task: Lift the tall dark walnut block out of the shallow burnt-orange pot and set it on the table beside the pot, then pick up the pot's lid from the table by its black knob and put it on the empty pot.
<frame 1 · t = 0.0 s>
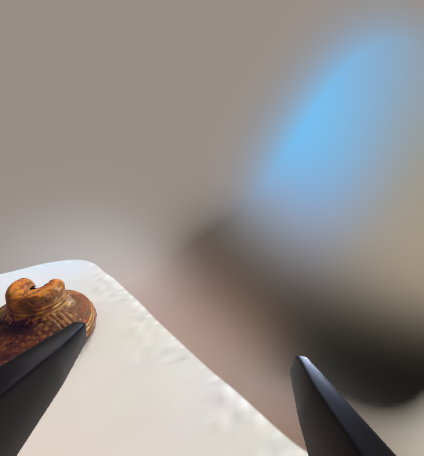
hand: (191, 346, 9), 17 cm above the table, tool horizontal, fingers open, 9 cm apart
bell: (43, 333, 25), on the table
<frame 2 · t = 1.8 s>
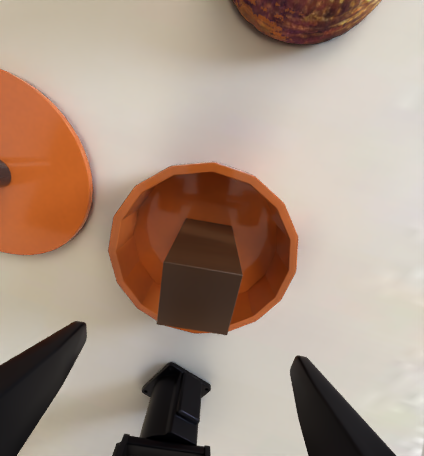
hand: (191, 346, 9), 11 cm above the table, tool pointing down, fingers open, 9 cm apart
pot: (205, 240, 19), on the table
lid: (2, 171, 17), point 1 cm above the table
block: (205, 243, 19), resting on pot
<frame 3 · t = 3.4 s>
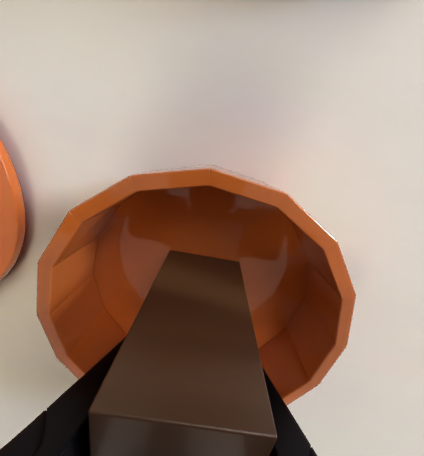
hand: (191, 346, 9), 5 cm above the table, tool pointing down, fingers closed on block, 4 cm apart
pot: (200, 280, 13), on the table
block: (199, 285, 13), resting on pot, touching gripper
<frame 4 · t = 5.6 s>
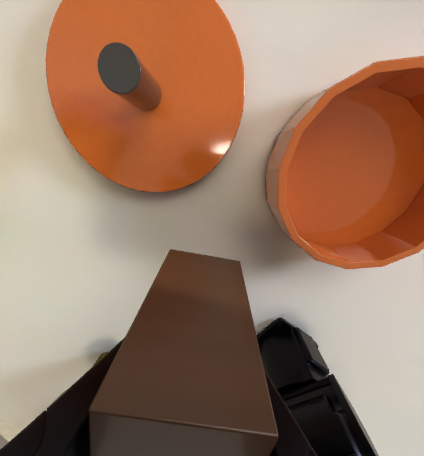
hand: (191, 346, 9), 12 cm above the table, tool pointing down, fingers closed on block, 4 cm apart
pot: (345, 175, 18), on the table
lid: (148, 95, 16), point 1 cm above the table
block: (199, 284, 13), point 8 cm above the table, touching gripper
when the fingers open (4 cm above the table, at t = 8.0 s): block stays where it is, on the table.
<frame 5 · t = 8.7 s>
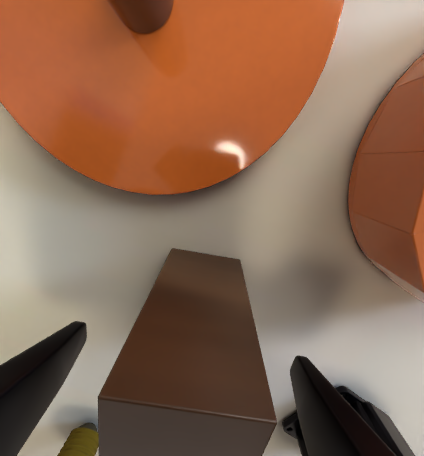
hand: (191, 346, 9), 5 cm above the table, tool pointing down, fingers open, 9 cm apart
light bulb: (92, 422, 18), on the table
lid: (146, 3, 8), point 1 cm above the table
block: (200, 282, 13), on the table
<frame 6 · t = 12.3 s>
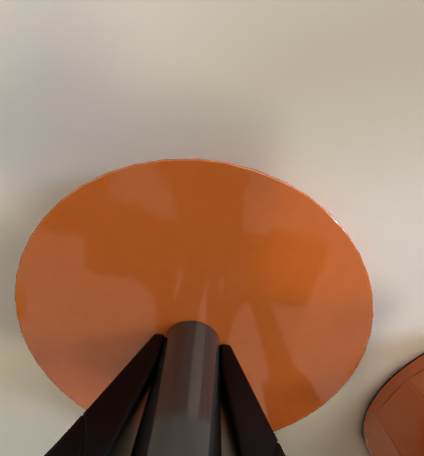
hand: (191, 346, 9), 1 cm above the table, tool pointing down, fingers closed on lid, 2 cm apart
lid: (193, 332, 9), point 1 cm above the table, touching gripper
when the fingers open (5 cm above the table, at t = 17.3 s): lid stays where it is, resting on pot.
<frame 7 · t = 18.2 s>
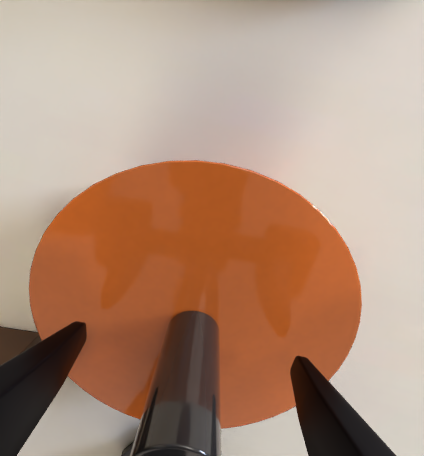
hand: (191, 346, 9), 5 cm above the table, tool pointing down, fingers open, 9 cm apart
lid: (194, 322, 10), point 4 cm above the table, touching pot
block: (17, 348, 16), on the table
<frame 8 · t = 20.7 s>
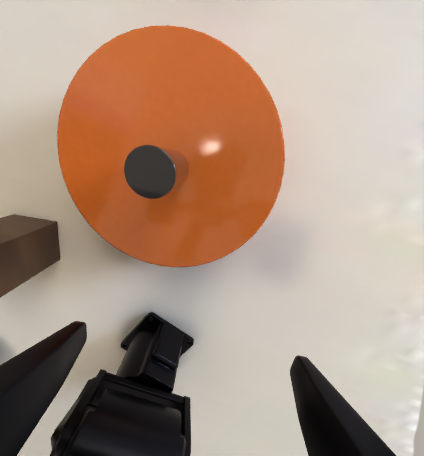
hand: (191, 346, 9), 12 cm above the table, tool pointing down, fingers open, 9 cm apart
lid: (172, 168, 14), point 4 cm above the table, touching pot
block: (37, 237, 20), on the table
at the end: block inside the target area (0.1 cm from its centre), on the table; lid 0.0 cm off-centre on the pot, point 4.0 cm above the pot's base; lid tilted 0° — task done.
